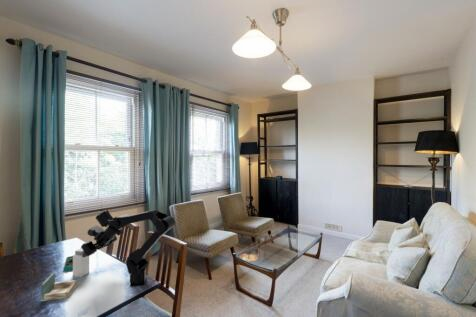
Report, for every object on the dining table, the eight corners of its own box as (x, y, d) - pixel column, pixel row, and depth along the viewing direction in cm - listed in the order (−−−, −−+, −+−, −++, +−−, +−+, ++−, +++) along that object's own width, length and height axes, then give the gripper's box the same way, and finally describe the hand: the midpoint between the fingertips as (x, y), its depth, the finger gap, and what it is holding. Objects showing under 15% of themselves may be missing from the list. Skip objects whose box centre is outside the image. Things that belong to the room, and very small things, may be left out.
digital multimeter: (63, 273, 124) (62, 267, 124) (66, 261, 137) (66, 256, 137) (79, 269, 128) (79, 264, 128) (81, 258, 141) (81, 253, 141)
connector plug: (89, 272, 125) (89, 248, 124) (81, 277, 120) (81, 252, 119) (81, 271, 125) (81, 247, 125) (72, 276, 121) (72, 251, 120)
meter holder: (76, 284, 113) (76, 270, 112) (68, 297, 103) (68, 281, 103) (52, 288, 110) (52, 273, 110) (41, 301, 100) (41, 284, 100)
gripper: (112, 216, 129) (94, 234, 131) (84, 227, 111) (64, 248, 113) (125, 232, 128) (107, 249, 130) (99, 245, 109) (78, 265, 112)
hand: (90, 252), depth 121 cm, fingers open, 9 cm apart
